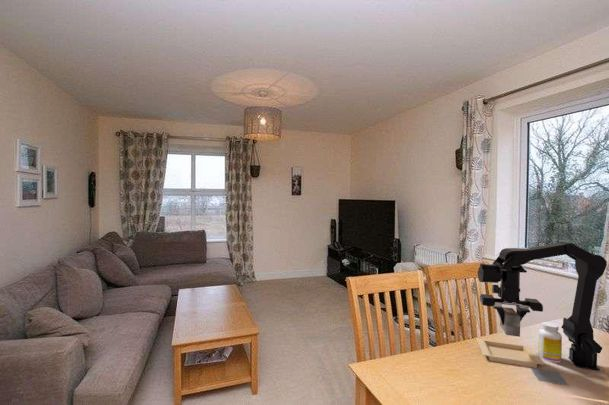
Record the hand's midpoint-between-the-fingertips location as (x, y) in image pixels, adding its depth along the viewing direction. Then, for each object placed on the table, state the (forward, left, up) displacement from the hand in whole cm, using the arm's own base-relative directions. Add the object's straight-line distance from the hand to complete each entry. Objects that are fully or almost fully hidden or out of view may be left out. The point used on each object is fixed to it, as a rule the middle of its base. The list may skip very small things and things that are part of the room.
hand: (509, 325), depth 115 cm
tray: (0, 0, -12) cm, 12 cm away
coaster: (-9, +11, -12) cm, 18 cm away
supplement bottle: (-14, -3, -12) cm, 19 cm away
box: (0, 0, -2) cm, 2 cm away
